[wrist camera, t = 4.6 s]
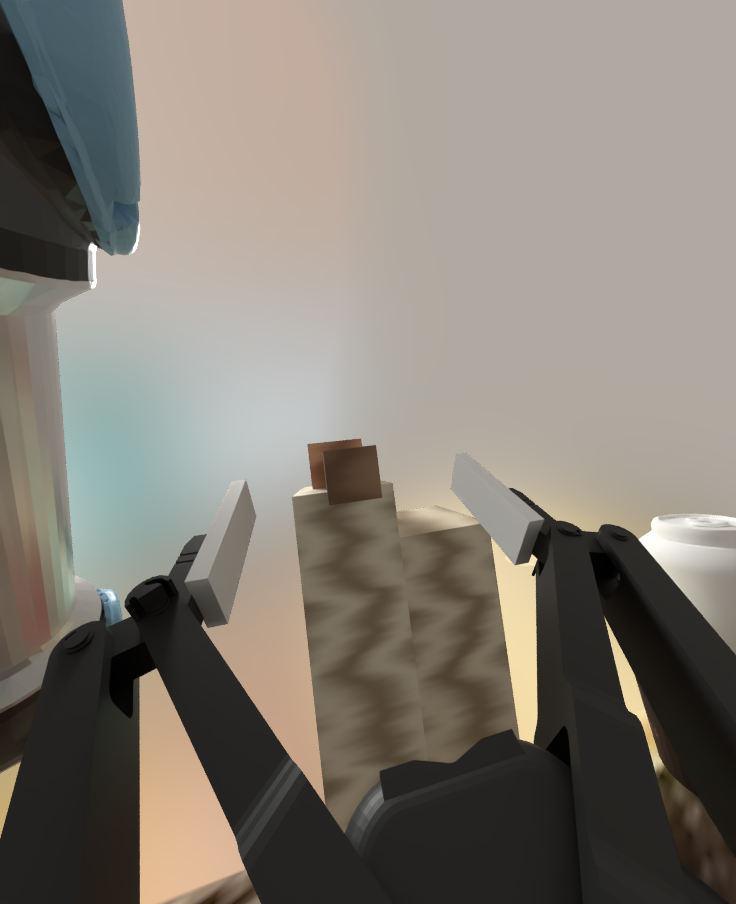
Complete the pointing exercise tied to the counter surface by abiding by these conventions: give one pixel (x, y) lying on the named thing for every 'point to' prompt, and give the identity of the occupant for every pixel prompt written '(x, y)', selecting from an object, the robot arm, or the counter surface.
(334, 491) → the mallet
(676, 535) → the white jar
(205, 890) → the counter surface
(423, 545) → the stand
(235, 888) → the counter surface
